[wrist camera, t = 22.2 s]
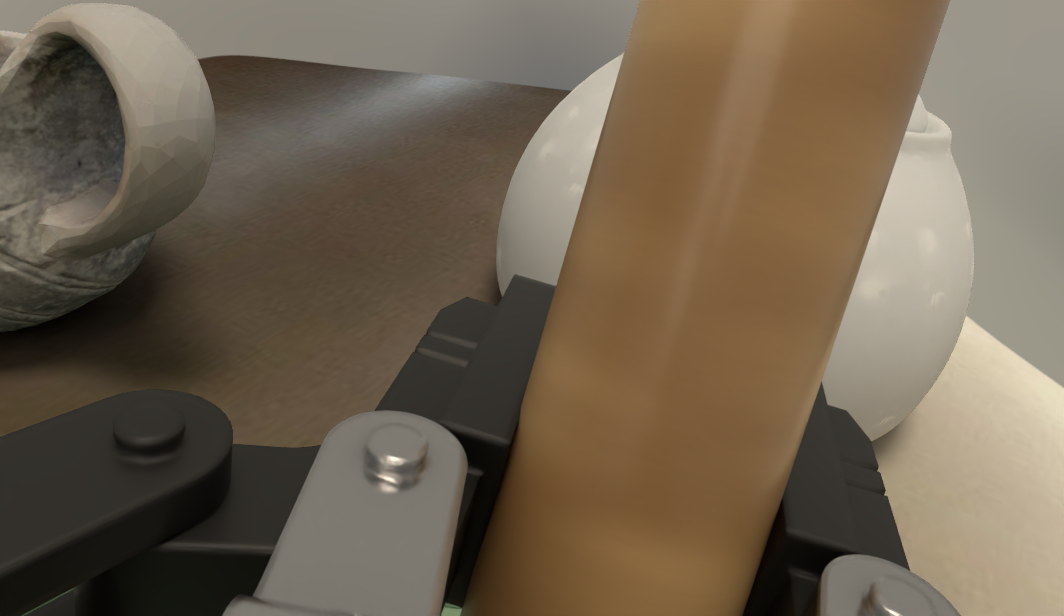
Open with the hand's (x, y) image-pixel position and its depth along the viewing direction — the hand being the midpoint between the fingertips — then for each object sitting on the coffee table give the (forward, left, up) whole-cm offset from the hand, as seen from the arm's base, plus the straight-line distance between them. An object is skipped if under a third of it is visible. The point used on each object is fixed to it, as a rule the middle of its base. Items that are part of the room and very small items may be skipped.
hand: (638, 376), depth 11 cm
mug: (-19, +5, -10) cm, 22 cm away
